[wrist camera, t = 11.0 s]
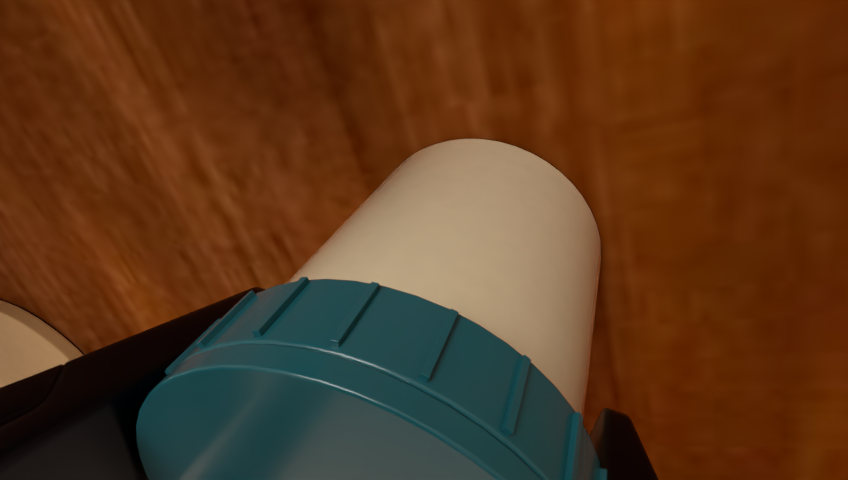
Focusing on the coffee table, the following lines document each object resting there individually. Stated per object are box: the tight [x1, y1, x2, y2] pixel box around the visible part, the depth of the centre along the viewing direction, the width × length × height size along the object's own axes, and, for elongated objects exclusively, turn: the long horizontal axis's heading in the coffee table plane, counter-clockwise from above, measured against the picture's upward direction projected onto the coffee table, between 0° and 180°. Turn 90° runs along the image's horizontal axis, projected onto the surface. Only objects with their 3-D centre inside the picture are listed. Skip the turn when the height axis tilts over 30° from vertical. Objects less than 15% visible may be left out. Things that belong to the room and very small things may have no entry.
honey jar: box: [287, 139, 601, 419], centre depth 11 cm, size 6×6×7 cm
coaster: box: [0, 300, 83, 387], centre depth 26 cm, size 10×10×1 cm
